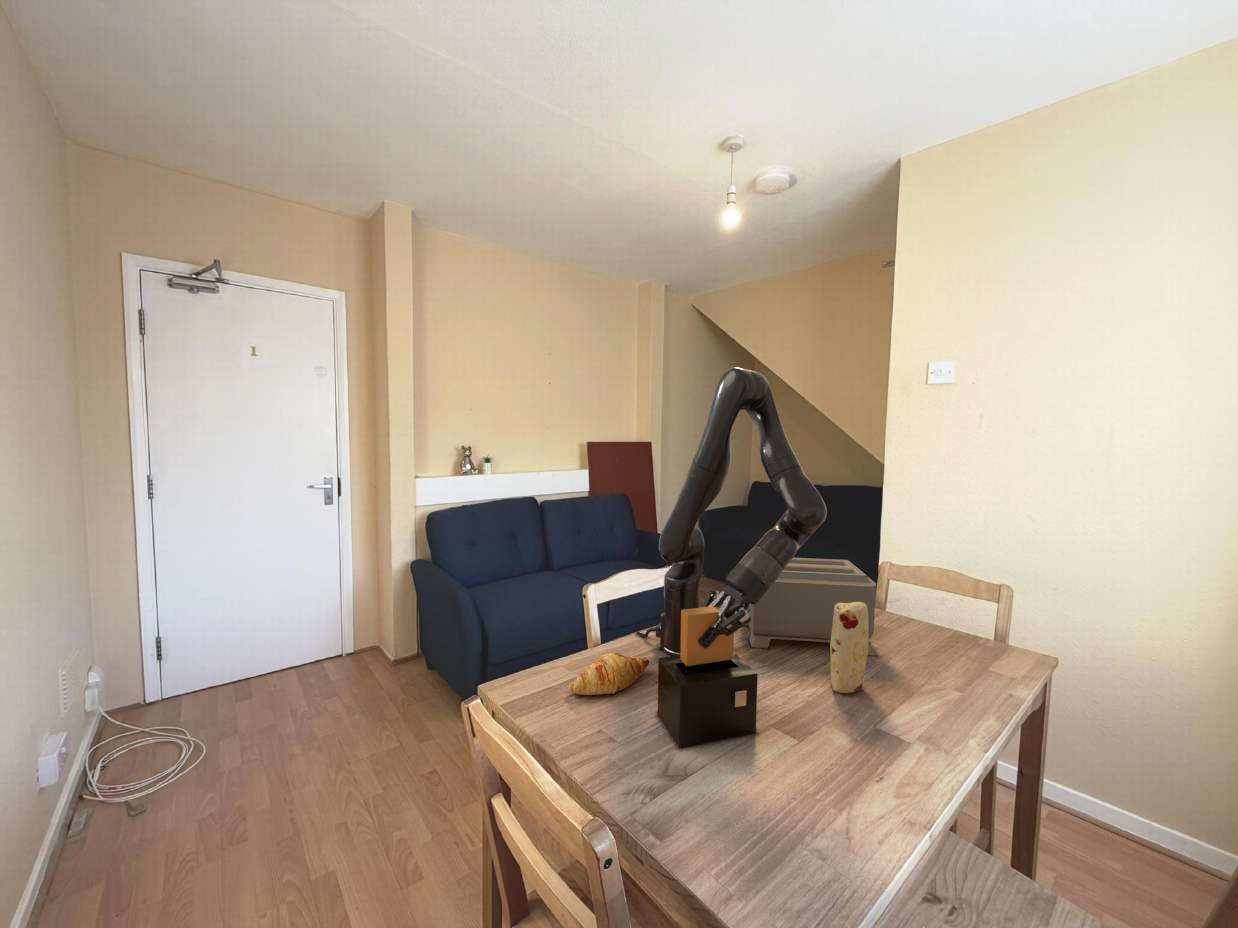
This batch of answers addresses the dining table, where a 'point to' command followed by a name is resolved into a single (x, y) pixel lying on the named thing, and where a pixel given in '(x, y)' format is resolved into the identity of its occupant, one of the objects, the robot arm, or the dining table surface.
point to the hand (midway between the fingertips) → (697, 640)
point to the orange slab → (691, 632)
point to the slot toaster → (706, 700)
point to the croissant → (609, 674)
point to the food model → (849, 646)
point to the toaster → (809, 601)
